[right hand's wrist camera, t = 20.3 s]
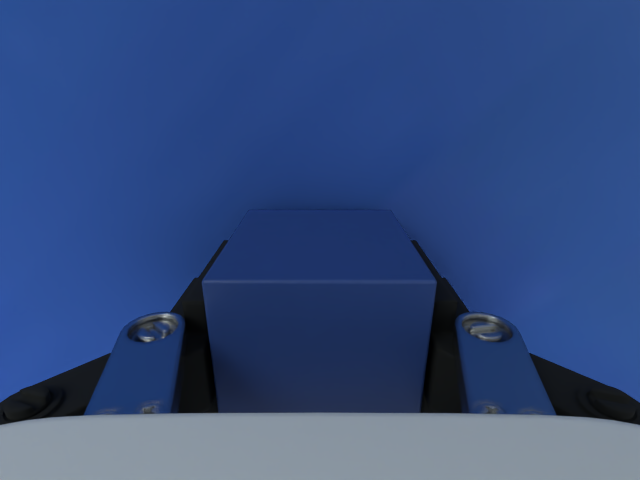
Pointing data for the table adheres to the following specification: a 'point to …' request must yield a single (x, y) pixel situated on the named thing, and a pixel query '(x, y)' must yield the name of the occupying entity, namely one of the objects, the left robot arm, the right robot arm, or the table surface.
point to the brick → (319, 314)
